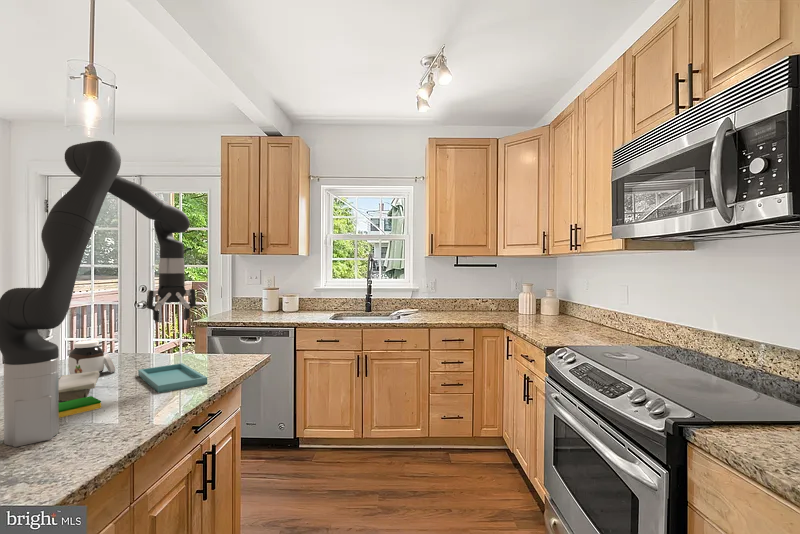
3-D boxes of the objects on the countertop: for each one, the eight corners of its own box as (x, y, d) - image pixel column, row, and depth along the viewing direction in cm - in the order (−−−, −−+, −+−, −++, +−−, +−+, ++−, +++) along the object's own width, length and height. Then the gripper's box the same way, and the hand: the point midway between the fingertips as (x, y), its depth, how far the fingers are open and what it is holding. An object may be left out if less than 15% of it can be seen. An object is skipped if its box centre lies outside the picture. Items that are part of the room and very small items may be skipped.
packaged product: (100, 384, 135) (60, 390, 130) (100, 369, 135) (60, 374, 130) (95, 399, 119) (50, 407, 114) (94, 382, 119) (49, 389, 114)
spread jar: (64, 377, 143) (64, 343, 143) (96, 369, 154) (96, 337, 154) (90, 380, 140) (90, 345, 139) (122, 372, 150) (122, 339, 150)
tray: (207, 384, 136) (207, 377, 136) (158, 393, 126) (158, 385, 126) (182, 369, 155) (182, 363, 155) (138, 376, 145) (138, 369, 145)
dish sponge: (101, 409, 113) (101, 400, 113) (35, 425, 102) (35, 415, 102) (91, 404, 118) (91, 395, 118) (26, 419, 106) (26, 409, 106)
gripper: (150, 272, 133) (150, 324, 133) (198, 272, 143) (198, 320, 143) (144, 272, 138) (144, 321, 138) (191, 271, 148) (191, 318, 148)
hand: (171, 321), depth 140 cm, fingers open, 8 cm apart
